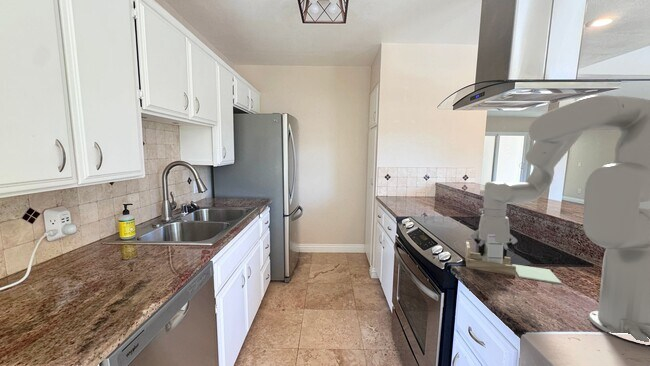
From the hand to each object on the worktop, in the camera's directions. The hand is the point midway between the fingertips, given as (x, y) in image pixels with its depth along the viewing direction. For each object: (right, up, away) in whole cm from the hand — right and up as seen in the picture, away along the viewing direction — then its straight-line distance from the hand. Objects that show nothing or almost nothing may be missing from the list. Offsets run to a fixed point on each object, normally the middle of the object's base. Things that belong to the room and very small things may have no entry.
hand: (491, 255), depth 102 cm
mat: (+13, -5, -6) cm, 15 cm away
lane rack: (-1, -5, +1) cm, 5 cm away
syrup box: (0, -5, 0) cm, 5 cm away
